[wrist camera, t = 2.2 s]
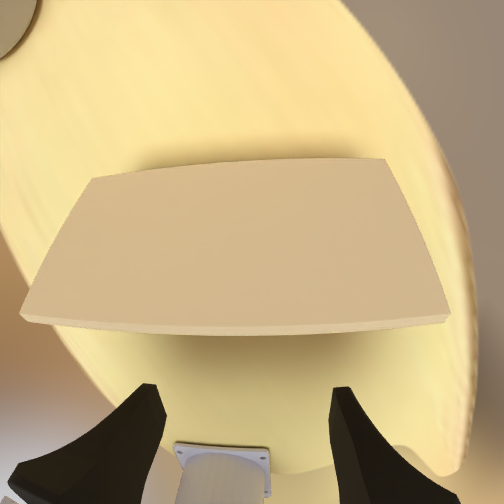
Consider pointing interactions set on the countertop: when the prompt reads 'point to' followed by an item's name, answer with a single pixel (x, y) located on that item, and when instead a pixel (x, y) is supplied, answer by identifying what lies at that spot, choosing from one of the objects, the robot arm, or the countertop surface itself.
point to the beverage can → (14, 22)
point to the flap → (241, 252)
